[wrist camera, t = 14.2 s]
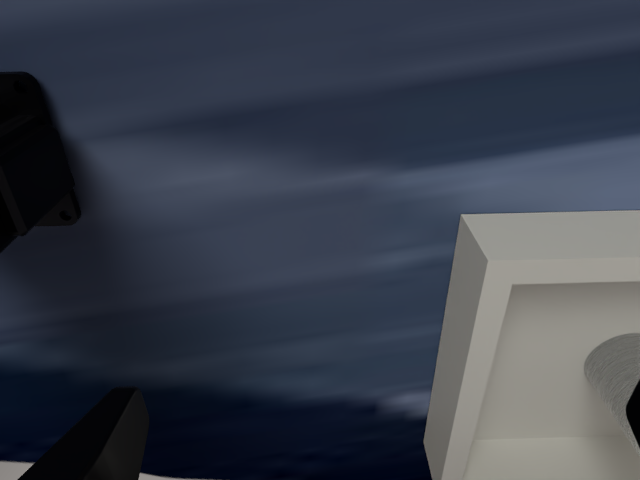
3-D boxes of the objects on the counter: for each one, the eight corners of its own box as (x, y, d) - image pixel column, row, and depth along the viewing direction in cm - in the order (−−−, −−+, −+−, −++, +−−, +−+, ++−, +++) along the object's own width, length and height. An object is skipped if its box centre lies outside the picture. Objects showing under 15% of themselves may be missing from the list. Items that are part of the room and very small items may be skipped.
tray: (423, 441, 30) (436, 499, 27) (460, 214, 21) (487, 260, 18) (680, 434, 30) (723, 491, 27) (824, 205, 21) (916, 250, 18)
